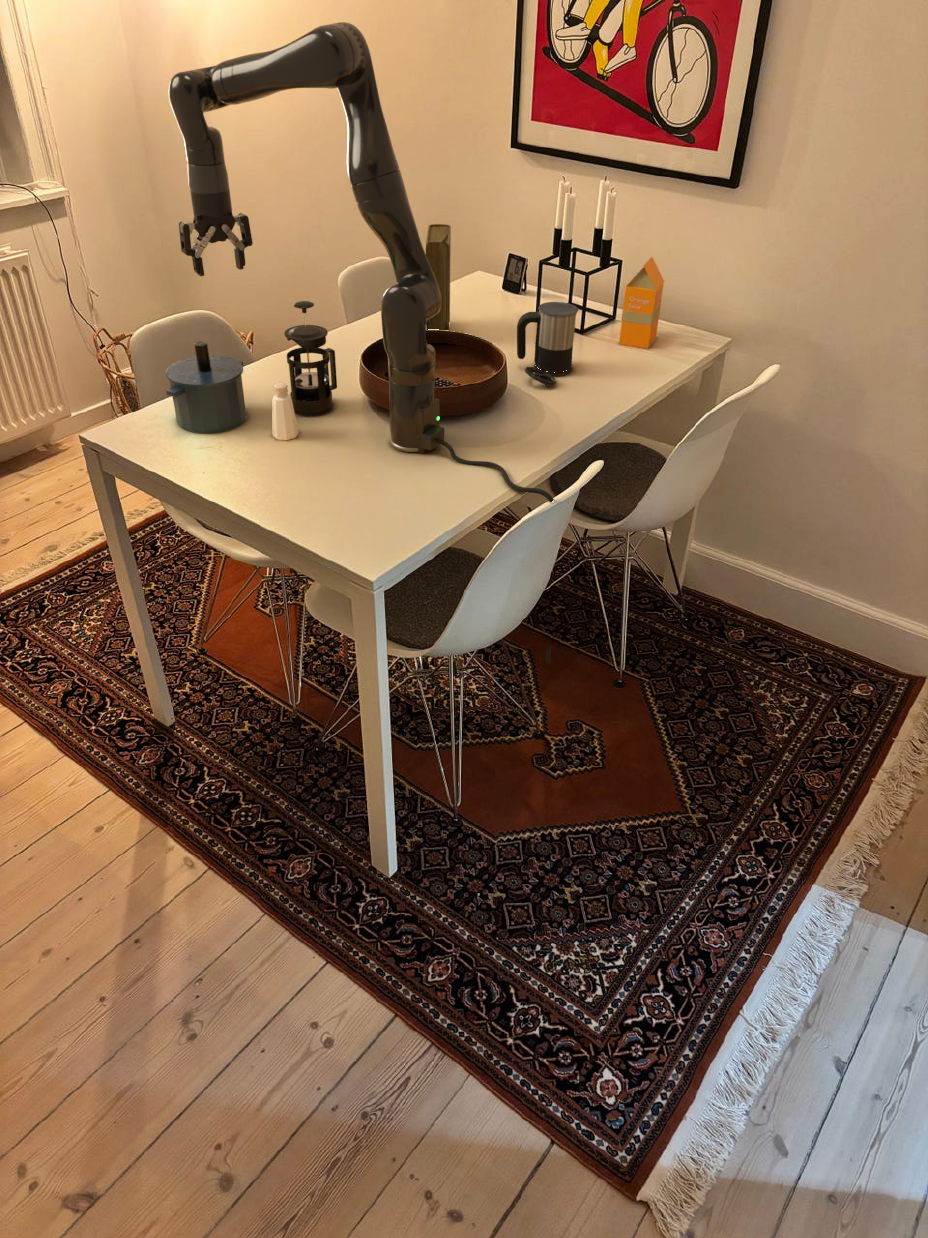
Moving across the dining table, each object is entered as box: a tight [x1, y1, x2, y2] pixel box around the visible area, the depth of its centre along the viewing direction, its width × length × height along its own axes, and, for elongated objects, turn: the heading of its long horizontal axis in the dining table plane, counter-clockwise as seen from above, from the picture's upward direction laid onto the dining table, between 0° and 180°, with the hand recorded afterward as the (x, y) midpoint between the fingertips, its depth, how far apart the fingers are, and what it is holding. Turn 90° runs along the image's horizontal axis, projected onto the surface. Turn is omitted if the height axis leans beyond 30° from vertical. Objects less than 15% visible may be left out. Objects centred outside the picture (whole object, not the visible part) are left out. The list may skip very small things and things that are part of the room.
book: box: [425, 223, 452, 331], centre depth 241 cm, size 16×6×25 cm, turn 179°
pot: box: [165, 359, 247, 434], centre depth 203 cm, size 14×20×10 cm
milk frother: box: [516, 301, 579, 387], centre depth 224 cm, size 14×16×15 cm
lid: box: [165, 341, 244, 387], centre depth 199 cm, size 16×16×7 cm
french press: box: [283, 300, 338, 417], centre depth 205 cm, size 12×9×23 cm
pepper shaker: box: [271, 382, 299, 441], centre depth 198 cm, size 5×5×11 cm
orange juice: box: [618, 256, 665, 349], centre depth 241 cm, size 8×9×20 cm
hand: (220, 271), depth 197 cm, fingers open, 8 cm apart
